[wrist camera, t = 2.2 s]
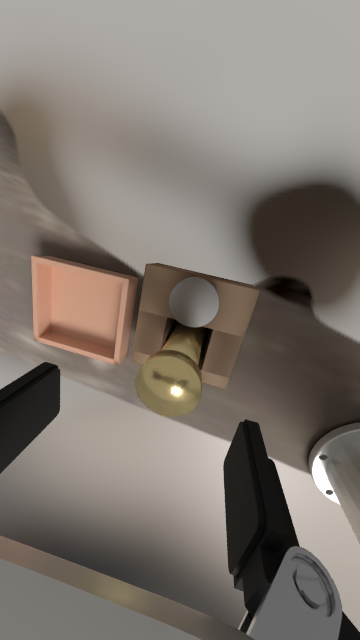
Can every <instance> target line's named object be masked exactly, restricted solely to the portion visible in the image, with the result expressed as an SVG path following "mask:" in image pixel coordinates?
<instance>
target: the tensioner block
mask: <svg viewBox="0 0 360 640" xmlns="http://www.w3.org/2000/svg"><path fill="white" fill-rule="evenodd" d="M259 293H260V290H258V289H257V288H256V287H254V286H253V285H250V284H245V283H241V282H236V281H232V280H228V279H224V278H219V277H215V276H211V275H206V274H202V273H198V272H193V271H189V270H185V269H181V268H176V267H173V266H168V265H164V264H159V263H154V264H146V267H145V273H144V280H143V287H142V293H141V300H140V307H139V313H138V320H137V327H136V333H135V340H134V347H133V353H132V360H131V362H135V363H138V364H141V365H144V363H145V362H146V360H147V359H148V358H149V357H150V356H151V355H153V354H154V353H156V352H159V351H161V350H162V349H163V347H164V345H165V344H166V342H167V341H168V339H169V337H170V332H171V328H172V323H173V319H175V320H177V321H178V322H179V323H181V324H183V325H185V326H188V327H201V326H202V327H206V328H210V329H211V330H210V334H209V337H208V341H207V345H206V348H205V352H200V358H199V363H198V367H199V369H200V371H201V374H202V382H203V383H206V384H210V385H213V386H216V387H220V388H223V389H226V388H227V385H228V382H229V380H230V377H231V374H232V371H233V368H234V365H235V362H236V359H237V356H238V354H239V351H240V348H241V345H242V342H243V339H244V336H245V333H246V330H247V327H248V325H249V322H250V319H251V316H252V313H253V310H254V307H255V304H256V301H257V299H258V296H259Z"/></svg>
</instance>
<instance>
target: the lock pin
mask: <svg viewBox="0 0 360 640" xmlns="http://www.w3.org/2000/svg"><path fill="white" fill-rule="evenodd" d="M203 336H204V327H202V326H201V327H188V326H185V325H183V324H181V323H178V325H177V326H176V328H175V329H174V331H173V333H172V334H171V336H170V337H169V339H168V341H167V342H166V344H165V345H164V347H163V349H162V350H161V351H159V352H156V353H154V354H153V355H151V356H150V357H149V358H148V359H147V360H146V362H145V363H144V365H143V366H142V367H141V369H140V370H139V372H138V374H137V377H136V390H137V393H138V396H139V398H140V399H141V401H142V402H143V403H144V404H145V405H146V406H147V407H148V408H149V409H150V410H152V411H154V412H156V413H158V414H160V415H164V416H169V417H177V416H182V415H185V414H187V413H189V412H191V411H192V410H193V409H194V408H195V407H196V406H197V404H198V403H199V400H200V397H201V390H202V374H201V371H200V369H199V367H198V363H199V358H200V352H201V347H202V342H203Z"/></svg>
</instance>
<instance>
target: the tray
mask: <svg viewBox="0 0 360 640" xmlns="http://www.w3.org/2000/svg"><path fill="white" fill-rule="evenodd" d="M31 259H32V291H33V324H34V340H35V341H38V342H41V343H45V344H48V345H51V346H55V347H58V348H62V349H65V350H68V351H72V352H75V353H78V354H82V355H85V356H88V357H92V358H95V359H98V360H102V361H105V362H108V363H112V364H115V365H119V364H120V363H121V362H122V361H123V360H124V359H125V358H126V357H127V355H128V348H129V341H130V334H131V327H132V320H133V313H134V306H135V299H136V291H137V284H138V277H134V276H130V275H126V274H122V273H118V272H114V271H110V270H106V269H101V268H97V267H93V266H89V265H85V264H81V263H77V262H73V261H69V260H65V259H60V258H56V257H52V256H31Z"/></svg>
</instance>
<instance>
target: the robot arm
mask: <svg viewBox="0 0 360 640" xmlns="http://www.w3.org/2000/svg"><path fill="white" fill-rule="evenodd" d="M59 410H60V369H58V366H57V365H55V364H51V363H48V362H44V363H42V364H40V365H39V366H37V367H36V368H34V369H32V370H31V371H29V372H28V373H26V374H25V375H23V376H21V377H20V378H18V379H17V380H15V381H13V382H12V383H10V384H9V385H7V386H5V387H4V388H2V389H1V390H0V473H1V472H2V471H3V470H4V469H5V468H6V467H7V466H8V465H9V464H10V463H11V462H12V461H13V460H14V459H15V458H16V457H17V456H18V455H19V454H20V453H21V452H22V451H23V450H24V449H25V448H26V447H27V446H28V445H29V444H30V443H31V442H32V441H33V440H34V439H35V438H36V437H37V436H38V435H39V434H40V433H41V431H43V429H45V428H46V426H47V425H48V424H49V423H50V422H51V421H52V420H53V419H54V418H55V417H56V416H57V415H58V413H59ZM308 465H309V470H310V474H311V476H312V478H313V480H314V483H315V484H316V486H317V487H318V489H319V490H320V491H321V492H322V493H323V494H324V495H325V496H326V497H328V498H329V499H331V500H332V501H334V502H336V503H338V504H340V505H341V507H342V509H343V511H344V513H345V515H346V517H347V519H348V521H349V523H350V525H351V527H352V529H353V531H354V533H355V535H356V537H357V539H358V541H359V543H360V422H359V423H352V424H349V425H345V426H342V427H339V428H337V429H335V430H332V431H331V432H329V433H328V434H326V435H325V436H323V437H322V438H321V439H320V440H319V441H318V442H317V443H316V444H315V446H314V447H313V449H312V450H311V453H310V456H309V463H308ZM224 489H225V509H226V530H227V550H228V568H229V572H230V574H232V575H234V588H235V589H239V590H241V591H244V602H245V607H246V608H247V612H246V614H245V616H244V618H243V620H242V622H241V624H240V626H239V628H238V629H236V628H234V627H232V626H230V625H228V624H226V623H224V622H222V621H220V620H218V619H216V618H213V617H211V616H208V615H206V614H203V613H201V612H199V611H196V610H194V609H191V608H189V607H186V606H184V605H182V604H179V603H177V602H174V601H172V600H169V599H167V598H164V597H162V596H159V595H156V594H154V593H151V592H149V591H146V590H143V589H141V588H138V587H135V586H133V585H130V584H128V583H125V582H122V581H120V580H117V579H114V578H112V577H109V576H107V575H104V574H101V573H99V572H96V571H94V570H91V569H88V568H86V567H83V566H80V565H77V564H75V563H72V562H69V561H67V560H64V559H61V558H59V557H56V556H54V555H51V554H48V553H46V552H43V551H40V550H38V549H35V548H32V547H29V546H27V545H24V544H21V543H19V542H16V541H13V540H11V539H8V538H5V537H2V536H0V640H360V632H359V631H358V630H357V629H356V627H355V626H354V625H353V624H352V622H351V621H350V620H349V619H348V618H347V616H346V615H345V614H344V612H343V611H342V605H341V600H340V596H339V593H338V590H337V588H336V585H335V583H334V581H333V579H332V578H331V576H330V574H329V573H328V571H327V569H326V568H325V567H324V566H323V564H322V563H321V562H320V561H319V560H318V559H317V558H316V557H315V556H314V555H313V554H312V553H311V552H309V551H308V550H306V549H304V548H302V547H300V546H299V543H298V540H297V536H296V533H295V529H294V526H293V523H292V519H291V516H290V513H289V509H288V506H287V503H286V499H285V496H284V493H283V489H282V486H281V483H280V479H279V476H278V473H277V470H276V466H275V464H274V462H273V460H271V459H269V458H268V456H267V453H266V449H265V445H264V442H263V438H262V434H261V431H260V427H259V424H258V423H256V422H253V421H249V420H244V422H240V423H239V426H238V428H237V431H236V433H235V435H234V438H233V440H232V443H231V445H230V448H229V450H228V453H227V455H226V458H225V461H224Z"/></svg>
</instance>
